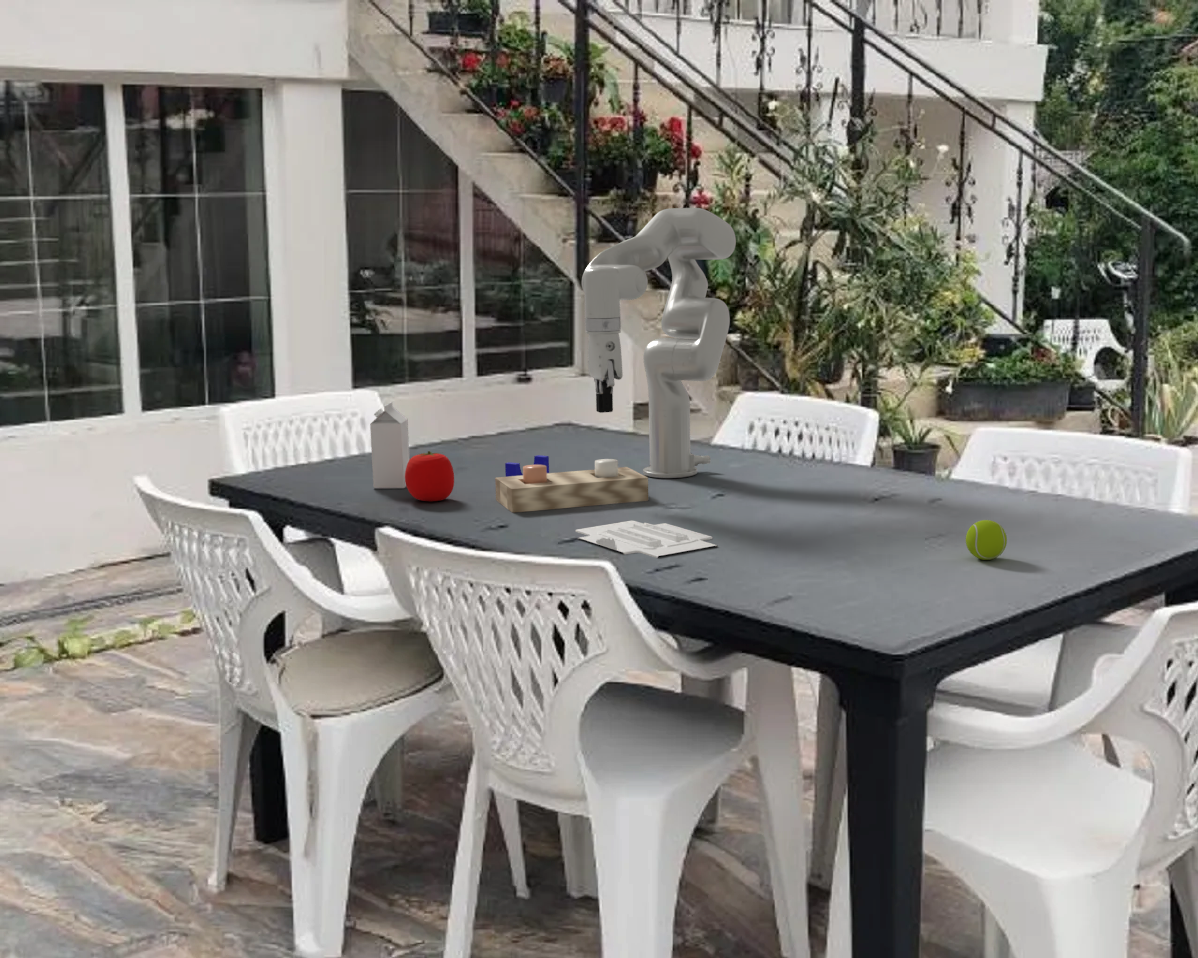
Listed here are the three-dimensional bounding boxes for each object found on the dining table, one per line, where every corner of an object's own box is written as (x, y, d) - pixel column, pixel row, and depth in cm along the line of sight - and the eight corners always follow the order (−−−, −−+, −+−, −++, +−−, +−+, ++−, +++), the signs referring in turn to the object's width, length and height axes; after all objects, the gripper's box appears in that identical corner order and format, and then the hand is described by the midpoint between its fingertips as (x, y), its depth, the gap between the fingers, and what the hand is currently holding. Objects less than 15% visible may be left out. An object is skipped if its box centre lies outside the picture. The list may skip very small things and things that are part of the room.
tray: (646, 522, 306) (646, 504, 306) (733, 552, 284) (733, 533, 283) (560, 537, 295) (560, 518, 295) (643, 570, 273) (643, 550, 272)
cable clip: (534, 480, 353) (533, 454, 351) (549, 481, 350) (548, 456, 349) (500, 488, 343) (499, 462, 342) (516, 490, 340) (515, 464, 339)
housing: (627, 489, 338) (626, 466, 337) (648, 500, 325) (648, 477, 324) (496, 500, 329) (495, 477, 328) (512, 512, 316) (511, 489, 315)
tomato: (447, 505, 325) (445, 456, 323) (400, 504, 327) (397, 455, 325) (461, 496, 335) (459, 447, 333) (415, 495, 337) (413, 447, 335)
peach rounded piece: (543, 485, 327) (542, 463, 326) (549, 489, 323) (549, 467, 322) (521, 487, 326) (520, 465, 325) (527, 491, 321) (526, 469, 320)
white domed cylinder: (614, 479, 332) (613, 458, 331) (621, 483, 327) (620, 461, 326) (592, 481, 331) (591, 460, 330) (599, 485, 326) (598, 463, 325)
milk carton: (410, 483, 351) (407, 401, 348) (404, 489, 345) (400, 405, 341) (380, 483, 352) (376, 401, 349) (373, 489, 345) (368, 406, 342)
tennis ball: (999, 554, 271) (1000, 515, 270) (1011, 563, 264) (1012, 524, 263) (960, 555, 271) (961, 516, 270) (971, 564, 264) (972, 525, 263)
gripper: (631, 327, 317) (632, 415, 320) (608, 322, 331) (610, 406, 334) (596, 329, 314) (598, 417, 318) (575, 324, 328) (577, 408, 332)
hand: (604, 411), depth 326 cm, fingers closed
